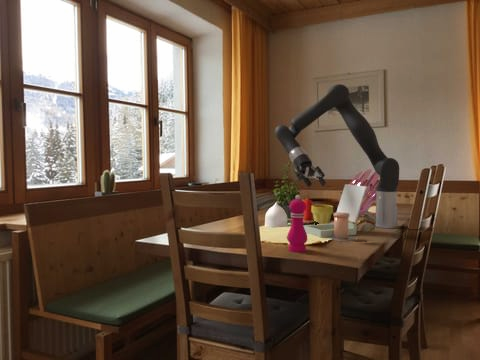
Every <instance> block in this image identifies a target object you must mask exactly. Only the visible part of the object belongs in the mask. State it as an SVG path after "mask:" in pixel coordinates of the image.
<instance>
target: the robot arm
mask: <svg viewBox="0 0 480 360" xmlns="http://www.w3.org/2000/svg"><path fill="white" fill-rule="evenodd" d="M333 108H335V109H336V111H338V113H339V114H340V116H341V118H342V120H343V121H344V123H345V125H346V127H347V128H348V130H349V131H350V134H351V136H353V138H354V139H355V141H356V142H357V143H358V145H359V147H360V148H361V149H362V150H363V152H364V153H365V155H366V156H367V158H368V159H369V162H370V163H371V165H372V167H373V169H374V172H375V171H376V172H377V174H378V175H380V177H379V180H380V181H379V180H378V182H379V184H378V185H377V188H376V201H375V213H376V215H375V216H376V224H375V225H376V227H377V228H382V229H394V228H398V216H399V215H398V214H399V211H398V209H399V207H398V206H397V193H398V192H397V191H398V190H397V189H398V187H399V179H400V165H399V162H398V161H397V159H395V158H392V157H388V156H387V155H386V154H385V152H384V151H383V150H382V149H381V146H380V145H379V142H378V138H377V134H376V132H375V130H374V128H373V127H372V125H371V124H370V122H369V121H368V120H367V119H366V117H365V116H364V115H362V113H361V112H360V111H358V109H357V108H356V107H355V105H354V104H353V103H352V100H351V99H350V90H349V88H348V87H347V86H346V85H345V84H341V83H340V84H339V83H338V84H334V85H333V86H331V87H330V88H329V89H328V91H327V93H326V94H325V95H324V96H323V97H322V98H321V99H319V101H317V102H316V103H313V105H311V106H309V107H307V108H306V109H305V110H303V111H301V112H300V113H299V114H297V115H296V116H295V117H293V118H292V119H291V121H290V123H291V125H290V126H289V127H288V126H287V125H285V124H279V125H277V126H276V127H275V130H274V135H275V137H276V138H277V139H278V141H279V143H280V144H281V145H282V146H283V148H284V151H285V152H286V153H287V155H288V156H289V159H290V161H291V163H292V164H293V166H294V167H295V169H294V170H293V172H294V173H295V175H296V177H297V179H298V180H299V181H301V180H302V181H303V182H304V183H305V185H306V186H307V187H308V188H310V187H311V186H312V185H313V184H312V182H311V180H310V178H309V177H312V178H313V179H316V180H318V182H319V183H320V186H321V187H324V186H325V185H327V182H326V180H325V179H324V177H325V176H326V175H325V173H324V172H323V170H322V169H321V167H320V166H318V165H317V166H316V167H315V166H313V162H312V160H311V158H310V157H309V155H308V153H307V152H306V151H305V149H304V148H303V147H302V146H301V145H300V143H299V142H298V141H297V140H296V137H298V135H299V134H300V133H301V132H302V131H303V130H304V129H306V128H308V127H309V126H310V125H312V123H314V122H315V121H316V120H317V119H319V118H320V117H321V116H323V115H324V114H326V113H327V112H328V111H330V110H332V109H333Z"/></svg>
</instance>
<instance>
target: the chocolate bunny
mask: <svg viewBox="0 0 480 360" xmlns="http://www.w3.org/2000/svg"><path fill="white" fill-rule="evenodd" d="M370 212H371V211H369V210H367V211H366V212H365V213H364V214H363V217H364V219H365V221H364V222H363V223H361V224H360V226H359V227H358V229H357V231H358V232H371V233H375V228H376V227H377V226H376V218H375V217H374V216H375V215H371V213H370Z"/></svg>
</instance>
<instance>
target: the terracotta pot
mask: <svg viewBox="0 0 480 360" xmlns="http://www.w3.org/2000/svg"><path fill="white" fill-rule="evenodd" d="M348 218H349V213H344V212H337V211H336V212H333V223H334V238H335V239H348V236H349V235H348V223H349V221H348Z"/></svg>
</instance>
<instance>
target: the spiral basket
mask: <svg viewBox="0 0 480 360" xmlns="http://www.w3.org/2000/svg"><path fill="white" fill-rule="evenodd" d="M372 169H373V168H368V169H366V170H365V171H364V173H363V171H362V170H360V171H358V172H357V173H356V174H355V175H354V177H353V178H352V180H351V181H350V183H348V184H347V185H357V186H366V187H367V188H366V191H365V194H364V198H363V201H362V204H361V207H360V210H359V214H358V217H362V216H363V214H364V213H365V212H366V211H369V209H370V208H371V207H372V206H373V204H374V203H376V188H377V185H378V184H379V181H380V175H378V174H377V172H376V171H375V170H374V172H373V173H372V171H373V170H372ZM371 173H372V174H371ZM370 174H371V175H370ZM369 176H370V177H369ZM359 177H360V178H359ZM378 179H379V180H378ZM366 180H367V181H366ZM377 181H378V182H377ZM364 183H365V184H364ZM369 212H370V213H371V215H372V216H374V217H375V218H376V212H371V211H369ZM363 217H364V216H363Z"/></svg>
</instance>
